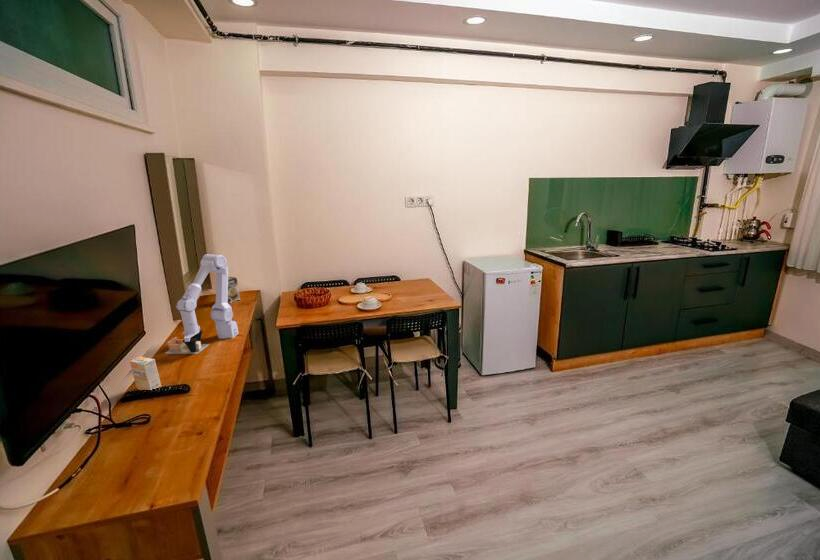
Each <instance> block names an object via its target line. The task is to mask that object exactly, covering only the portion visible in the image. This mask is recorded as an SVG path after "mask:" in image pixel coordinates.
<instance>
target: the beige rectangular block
mask: <svg viewBox="0 0 820 560" xmlns="http://www.w3.org/2000/svg"><path fill="white" fill-rule="evenodd" d="M201 344H202V342H201V343H200V341H196V351H200V350H201V349H202V347H201ZM180 348H181V353H187V352H190V350H189V348H188V347H187V345H186V344H185V343H182V344H181V345H180Z"/></svg>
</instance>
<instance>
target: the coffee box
mask: <svg viewBox="0 0 820 560" xmlns="http://www.w3.org/2000/svg"><path fill="white" fill-rule="evenodd" d="M238 285H239V284H238V278H237V277H235V276H230V277H229V276H228V304H229V303H231V304H233V303H232V302H234V301H237V300H240V301H241V297H240V296H241V295H240V289H239V286H238ZM237 302H238V301H237ZM234 303H235V302H234ZM229 305H230V304H229Z"/></svg>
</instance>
